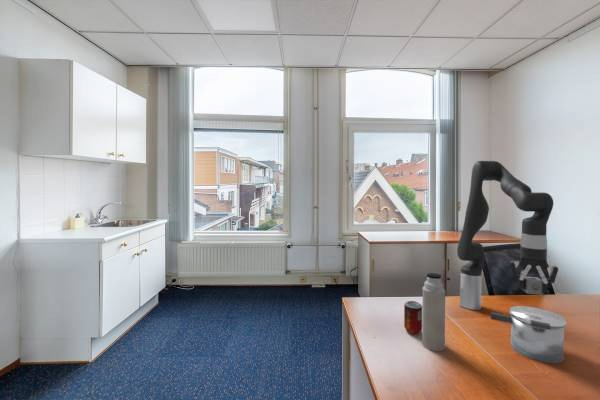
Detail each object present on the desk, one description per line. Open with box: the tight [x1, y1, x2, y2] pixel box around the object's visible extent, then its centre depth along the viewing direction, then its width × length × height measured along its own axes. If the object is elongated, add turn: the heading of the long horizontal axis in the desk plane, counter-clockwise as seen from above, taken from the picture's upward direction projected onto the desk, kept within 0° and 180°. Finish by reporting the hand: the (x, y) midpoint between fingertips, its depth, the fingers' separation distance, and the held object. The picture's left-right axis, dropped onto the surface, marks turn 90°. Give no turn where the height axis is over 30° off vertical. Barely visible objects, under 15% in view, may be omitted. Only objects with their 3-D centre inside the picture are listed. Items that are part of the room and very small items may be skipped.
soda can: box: [403, 300, 422, 336], centre depth 120 cm, size 7×7×12 cm
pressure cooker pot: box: [490, 311, 565, 364], centre depth 107 cm, size 22×17×12 cm
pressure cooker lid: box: [509, 305, 567, 330], centre depth 103 cm, size 16×18×2 cm
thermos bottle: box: [421, 272, 446, 352], centre depth 108 cm, size 8×8×28 cm
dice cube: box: [522, 275, 545, 296], centre depth 105 cm, size 5×5×5 cm
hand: (532, 291), depth 104 cm, fingers closed on dice cube, 5 cm apart
